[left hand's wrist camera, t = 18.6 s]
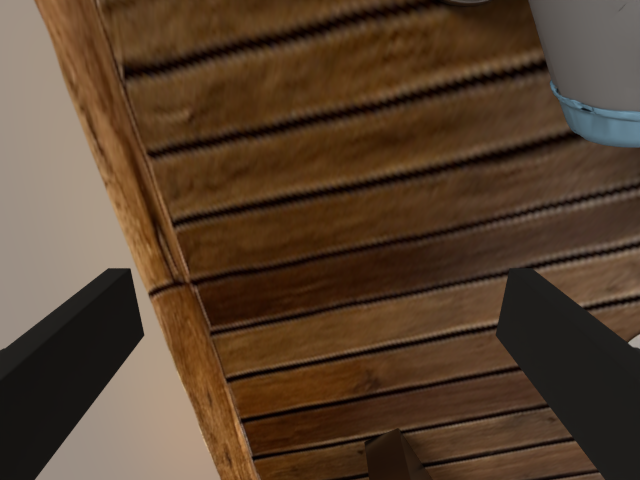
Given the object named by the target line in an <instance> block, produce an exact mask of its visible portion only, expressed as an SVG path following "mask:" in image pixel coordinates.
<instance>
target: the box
mask: <svg viewBox="0 0 640 480" xmlns="http://www.w3.org/2000/svg"><path fill="white" fill-rule="evenodd" d="M365 449H366V457H367V465H368V472H369V480H432V478H431V477H430V475H429V474H428V472H427V471H426V469H425V468H424V466H423V465H422V463H421V462H420V460H419V459H418V457H417V456H416V454H415V453H414V451H413V450H412V448H411V447H410V445H409V444H408V442H407V441H406V439H405V438H404V436H403V435H402V433H401V432H400V430H399V429H395V430H393V431H391V432H388V433H386V434H383V435H381V436H378V437H376V438H373V439H371V440H369V441H366V442H365Z"/></svg>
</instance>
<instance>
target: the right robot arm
mask: <svg viewBox="0 0 640 480" xmlns="http://www.w3.org/2000/svg"><path fill="white" fill-rule="evenodd" d="M628 344H630V345H631V346H632V347H637V348H639V349H640V334H639V335H638V336H636V337H635V338H633V339H632V340H631V341H629V342H628Z"/></svg>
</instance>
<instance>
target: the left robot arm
mask: <svg viewBox="0 0 640 480" xmlns="http://www.w3.org/2000/svg"><path fill="white" fill-rule="evenodd" d="M438 1H441V2H443V3H446V4H449V5H454V6H476V5H480V4H484V3H487V2H490V1H492V0H438ZM528 1H529V4H530V8H531V11H532V15H533V18H534V21H535V25H536V28H537V32H538V35H539V39H540V42H541V45H542V49H543V52H544V56H545V59H546V63H547V66H548V69H549V73H550V76H551V81H550V86H551V90H552V92H553V94H554V95H555V96H556V97H557V98H558V99H559V102H560V105H561V107H562V110H563V113H564V116H565V119H566V121H567V124H568V125H569V127H570V128H571V129H572V131H574V132H575V133H577V134H579V135H581V136H582V137H583V138H585V139H586V140H588V141H591V142H594V143H598V144H602V145H608V146H616V147H640V0H528ZM143 336H144V331H143V327H142V322H141V317H140V312H139V307H138V303H137V298H136V293H135V288H134V284H133V279H132V274H131V269H130V268H108V269H107V270H106V271H104V272H103V273H102V274H100V275H99V276H98V277H97V278H95V279H94V280H93V281H91V282H90V283H89V284H88V285H86V286H85V287H84V288H82V289H81V290H80V291H79V292H77V293H76V294H75V295H73V296H72V297H71V298H70V299H68V300H67V301H66V302H64V303H63V304H62V305H61V306H59V307H58V308H57V309H55V310H54V311H53V312H51V313H50V314H49V315H48V316H46V317H45V318H44V319H43V320H41V321H40V322H39V323H37V324H36V325H35V326H33V327H32V328H31V329H30V330H28V331H27V332H26V333H24V334H23V335H22V336H21V337H19V338H18V339H17V340H15V341H14V342H13V343H12V344H10V345H9V346H8V347H6V348H5V349H2V350H0V480H35V479H36V477H37V476H38V475H39V473H40V472H41V471H42V469H43V468H44V467H45V465H46V464H47V463H48V462H49V460H50V459H51V458H52V456H53V455H54V454H55V452H56V451H57V450H58V448H59V447H60V446H61V444H62V443H63V442H64V440H65V439H66V438H67V436H68V435H69V434H70V433H71V431H72V430H73V429H74V427H75V426H76V425H77V423H78V422H79V421H80V419H81V418H82V417H83V415H84V414H85V413H86V411H87V410H88V409H89V407H90V406H91V405H92V403H93V402H94V401H95V400H96V398H97V397H98V396H99V394H100V393H101V392H102V390H103V389H104V388H105V386H106V385H107V384H108V382H109V381H110V380H111V378H112V377H113V376H114V375H115V373H116V372H117V371H118V369H119V368H120V367H121V365H122V364H123V363H124V361H125V360H126V359H127V357H128V356H129V355H130V354H131V352H132V351H133V350H134V348H135V347H136V346H137V344H138V343H139V342H140V340H141V339H142V338H143ZM496 336H497V338H498V339H499V340H500V342H501V343H502V344H503V346H504V347H505V348H506V350H507V351H508V352H509V354H510V355H511V356H512V357H513V359H514V360H515V361H516V363H517V364H518V365H519V367H520V368H521V369H522V371H523V372H524V373H525V375H526V376H527V377H528V379H529V380H530V381H531V382H532V384H533V385H534V386H535V388H536V389H537V390H538V392H539V393H540V394H541V396H542V397H543V398H544V400H545V401H546V402H547V404H548V405H549V406H550V408H551V409H552V410H553V411H554V413H555V414H556V415H557V417H558V418H559V419H560V421H561V422H562V423H563V425H564V426H565V427H566V429H567V430H568V431H569V433H570V434H571V435H572V436H573V438H574V439H575V440H576V442H577V443H578V444H579V446H580V447H581V448H582V450H583V451H584V452H585V454H586V455H587V456H588V458H589V459H590V460H591V462H592V463H593V464H594V465H595V467H596V468H597V469H598V471H599V472H600V473H601V475H602V476H603V477H604V479H605V480H640V349H639V348H637V347H632V346H631V345H630V344H628V343H627V342H626V341H625V340H623V339H622V338H621V337H619V336H618V335H617V334H616V333H614V332H613V331H612V330H610V329H609V328H608V327H607V326H605V325H604V324H603V323H601V322H600V321H599V320H598V319H596V318H595V317H594V316H592V315H591V314H590V313H589V312H587V311H586V310H585V309H583V308H582V307H581V306H579V305H578V304H577V303H576V302H574V301H573V300H572V299H570V298H569V297H568V296H567V295H565V294H564V293H563V292H561V291H560V290H559V289H558V288H556V287H555V286H554V285H552V284H551V283H550V282H549V281H547V280H546V279H545V278H543V277H542V276H541V275H540V274H538V273H537V272H536V271H534V270H533V269H532V268H510V269H509V274H508V279H507V284H506V288H505V293H504V298H503V303H502V307H501V312H500V317H499V322H498V327H497V331H496Z"/></svg>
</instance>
